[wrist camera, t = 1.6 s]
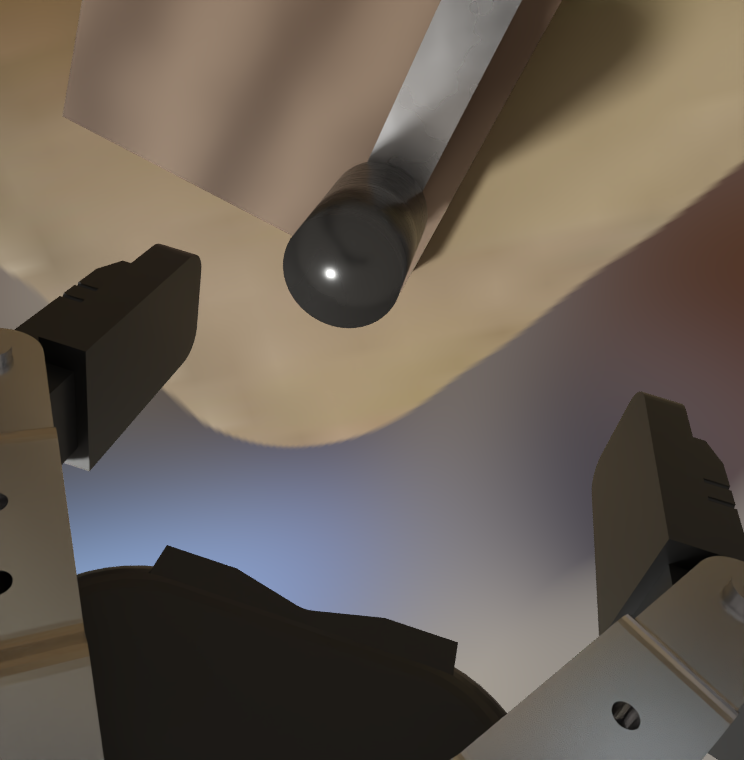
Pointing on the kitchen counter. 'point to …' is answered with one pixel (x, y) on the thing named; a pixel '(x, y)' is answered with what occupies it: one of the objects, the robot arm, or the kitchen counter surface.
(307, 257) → the lever
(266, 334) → the kitchen counter surface
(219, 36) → the press base
